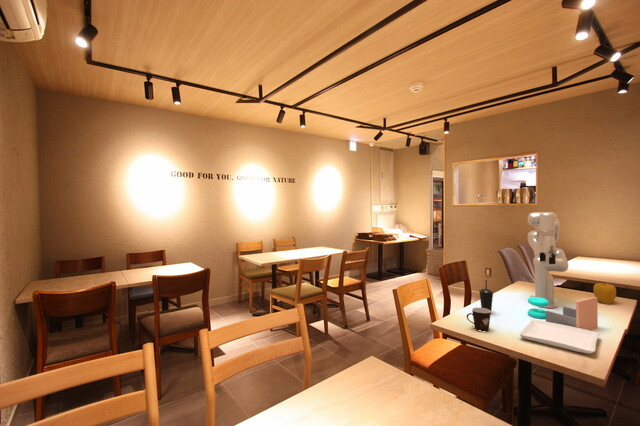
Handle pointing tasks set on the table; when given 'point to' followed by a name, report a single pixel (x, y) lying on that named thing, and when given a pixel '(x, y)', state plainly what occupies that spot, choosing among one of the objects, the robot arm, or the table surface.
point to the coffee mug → (481, 318)
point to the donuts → (541, 303)
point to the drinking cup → (486, 297)
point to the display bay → (577, 315)
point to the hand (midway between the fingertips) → (547, 262)
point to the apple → (604, 292)
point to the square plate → (561, 336)
